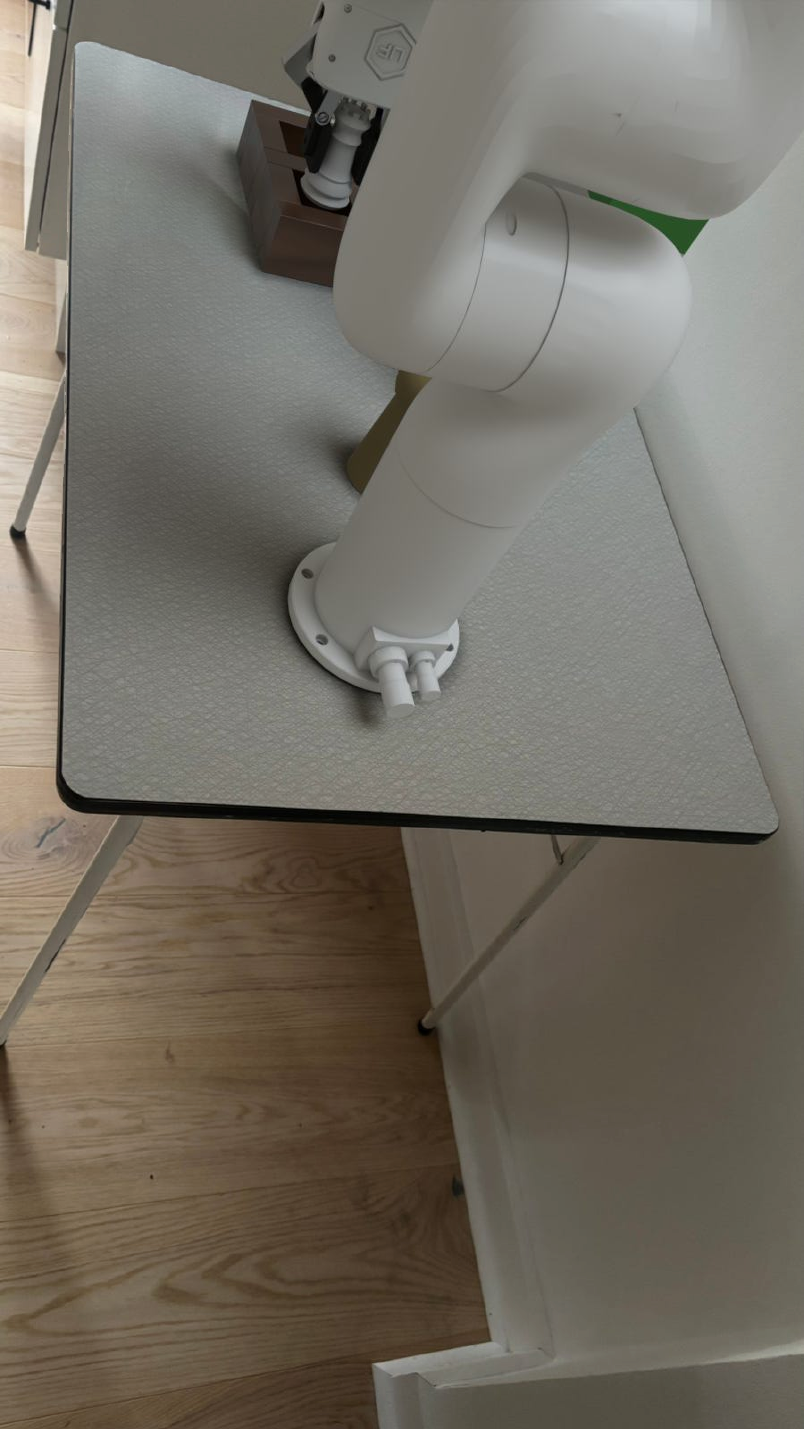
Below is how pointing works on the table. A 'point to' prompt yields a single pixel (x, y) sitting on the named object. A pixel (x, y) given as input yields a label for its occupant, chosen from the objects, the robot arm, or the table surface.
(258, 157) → the divided compartment box
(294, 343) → the table surface
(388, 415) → the olive flared vase
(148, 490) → the table surface
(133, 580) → the table surface
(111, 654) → the table surface
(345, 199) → the rook chess piece
